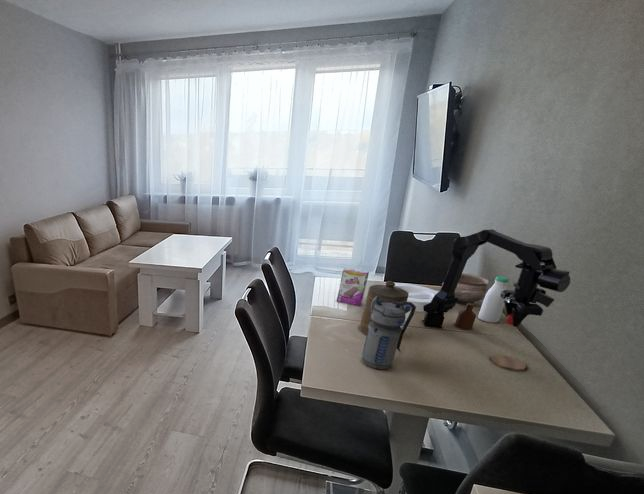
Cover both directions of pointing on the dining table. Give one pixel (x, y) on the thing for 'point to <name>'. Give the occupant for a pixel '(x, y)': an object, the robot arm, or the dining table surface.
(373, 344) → the beverage bottle
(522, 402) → the dining table surface
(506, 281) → the milk bottle
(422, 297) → the white circle with bar
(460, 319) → the bottle
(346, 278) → the candy bar box
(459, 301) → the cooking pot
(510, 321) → the red toy block
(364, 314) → the wooden container
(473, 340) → the dining table surface
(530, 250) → the robot arm
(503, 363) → the coaster
